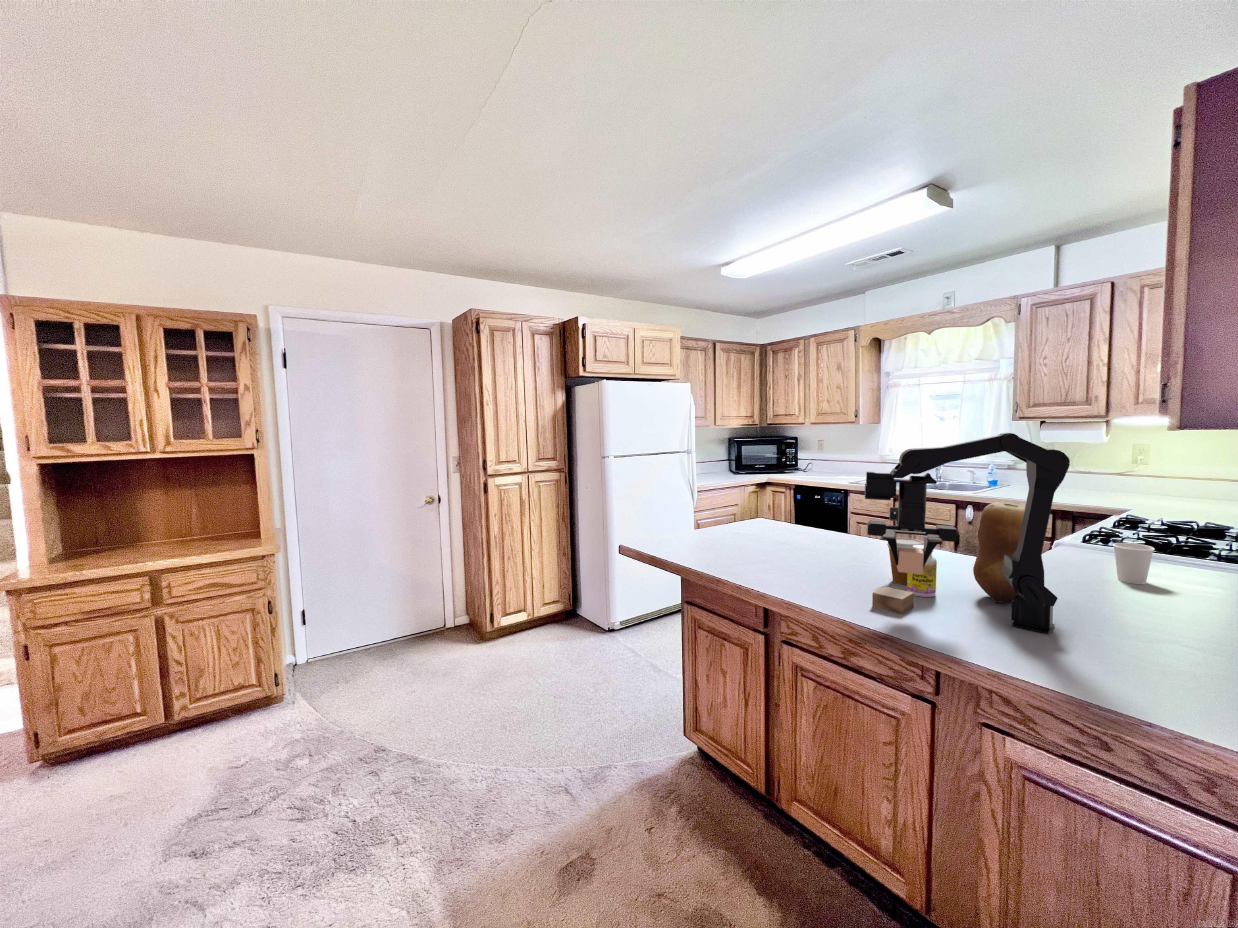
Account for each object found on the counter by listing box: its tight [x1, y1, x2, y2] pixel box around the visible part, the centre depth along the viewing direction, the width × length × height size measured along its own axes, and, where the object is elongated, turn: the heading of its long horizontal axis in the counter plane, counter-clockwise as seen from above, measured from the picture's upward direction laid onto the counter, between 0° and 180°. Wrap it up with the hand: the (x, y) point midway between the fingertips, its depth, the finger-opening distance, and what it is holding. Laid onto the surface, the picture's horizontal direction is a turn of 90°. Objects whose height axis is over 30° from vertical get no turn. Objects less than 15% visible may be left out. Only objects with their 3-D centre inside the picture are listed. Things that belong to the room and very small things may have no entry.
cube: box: [897, 547, 924, 574], centre depth 123 cm, size 5×5×5 cm
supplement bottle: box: [906, 545, 938, 598], centre depth 137 cm, size 7×7×13 cm
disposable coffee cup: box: [886, 537, 924, 586], centre depth 148 cm, size 10×10×12 cm
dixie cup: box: [1112, 542, 1156, 585], centre depth 145 cm, size 8×8×10 cm
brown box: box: [871, 586, 915, 615], centre depth 128 cm, size 7×7×4 cm
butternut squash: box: [972, 501, 1026, 603], centre depth 131 cm, size 14×13×25 cm
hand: (909, 566), depth 123 cm, fingers closed on cube, 5 cm apart
